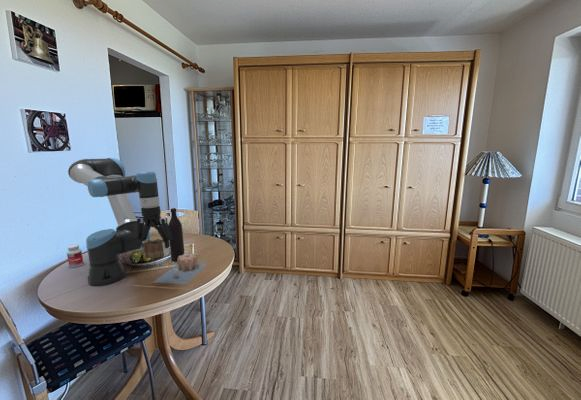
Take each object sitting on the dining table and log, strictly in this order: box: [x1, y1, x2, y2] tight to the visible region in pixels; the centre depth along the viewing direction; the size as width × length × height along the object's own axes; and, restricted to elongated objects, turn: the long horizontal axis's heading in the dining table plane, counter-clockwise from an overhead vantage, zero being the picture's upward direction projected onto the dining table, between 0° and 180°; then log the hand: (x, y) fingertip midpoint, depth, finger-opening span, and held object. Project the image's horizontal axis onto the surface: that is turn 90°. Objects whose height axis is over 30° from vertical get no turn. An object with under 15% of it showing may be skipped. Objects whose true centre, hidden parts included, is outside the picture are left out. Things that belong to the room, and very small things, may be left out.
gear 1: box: [142, 238, 165, 260], centre depth 121 cm, size 10×10×6 cm
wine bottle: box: [168, 207, 185, 263], centre depth 147 cm, size 7×7×30 cm
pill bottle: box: [66, 244, 84, 268], centre depth 143 cm, size 6×6×11 cm
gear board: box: [153, 262, 207, 285], centre depth 133 cm, size 16×22×5 cm
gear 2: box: [177, 252, 198, 271], centre depth 138 cm, size 10×10×7 cm
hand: (156, 254), depth 121 cm, fingers closed on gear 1, 10 cm apart
